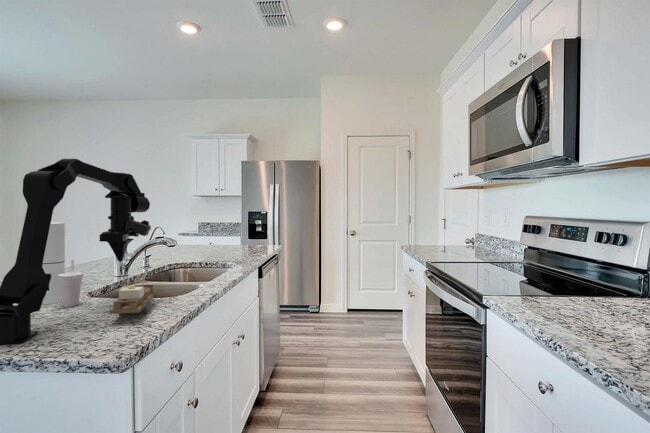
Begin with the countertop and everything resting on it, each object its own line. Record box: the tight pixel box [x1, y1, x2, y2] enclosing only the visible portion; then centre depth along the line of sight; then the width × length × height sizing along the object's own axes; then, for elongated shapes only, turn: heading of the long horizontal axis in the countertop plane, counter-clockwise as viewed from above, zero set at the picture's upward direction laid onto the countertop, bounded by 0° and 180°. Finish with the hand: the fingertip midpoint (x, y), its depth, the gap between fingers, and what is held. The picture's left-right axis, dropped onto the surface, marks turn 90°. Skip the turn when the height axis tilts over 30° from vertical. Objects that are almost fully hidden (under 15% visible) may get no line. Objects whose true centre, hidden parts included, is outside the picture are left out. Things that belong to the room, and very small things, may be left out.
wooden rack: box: [109, 284, 157, 317], centre depth 100 cm, size 20×7×6 cm, turn 15°
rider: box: [118, 284, 145, 305], centre depth 96 cm, size 4×5×5 cm
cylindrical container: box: [42, 222, 66, 305], centre depth 110 cm, size 7×7×25 cm
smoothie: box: [58, 259, 84, 308], centre depth 106 cm, size 6×6×14 cm
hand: (120, 261), depth 111 cm, fingers closed
